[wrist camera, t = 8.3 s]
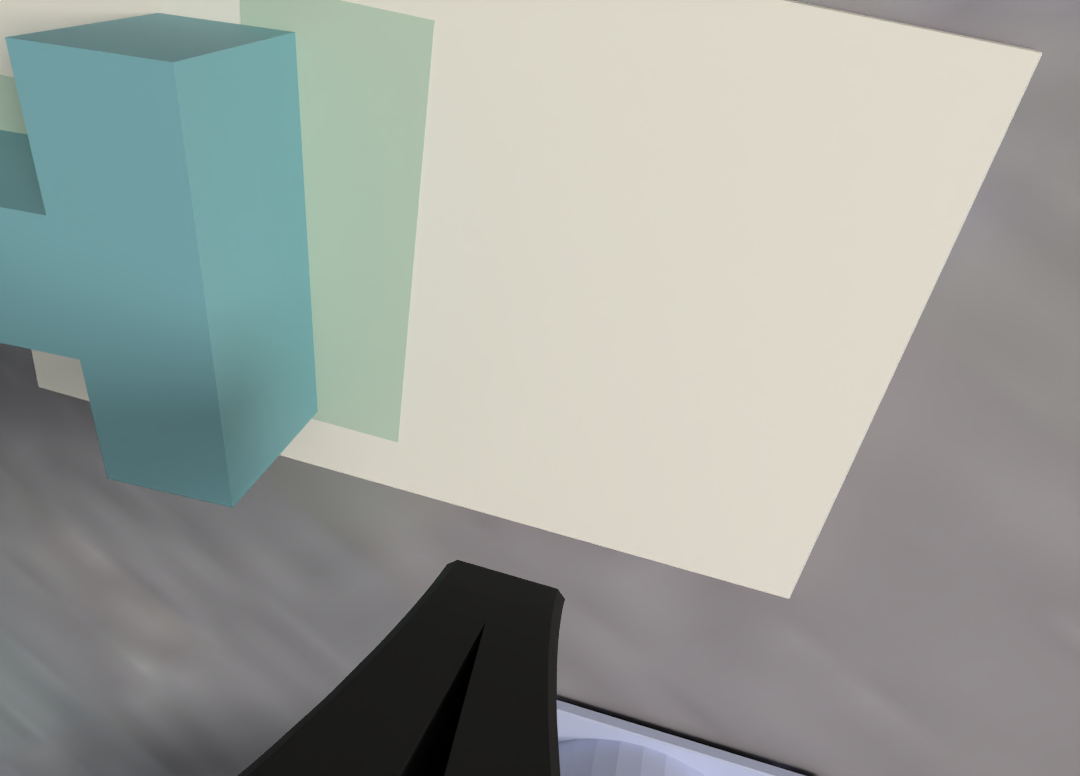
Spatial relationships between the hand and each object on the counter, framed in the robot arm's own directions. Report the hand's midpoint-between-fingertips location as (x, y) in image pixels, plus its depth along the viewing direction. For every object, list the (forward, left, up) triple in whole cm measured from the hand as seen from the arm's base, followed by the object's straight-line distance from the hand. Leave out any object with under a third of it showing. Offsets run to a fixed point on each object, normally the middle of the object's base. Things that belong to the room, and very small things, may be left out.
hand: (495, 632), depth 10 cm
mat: (+5, 0, -10) cm, 11 cm away
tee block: (+11, +1, -9) cm, 15 cm away
